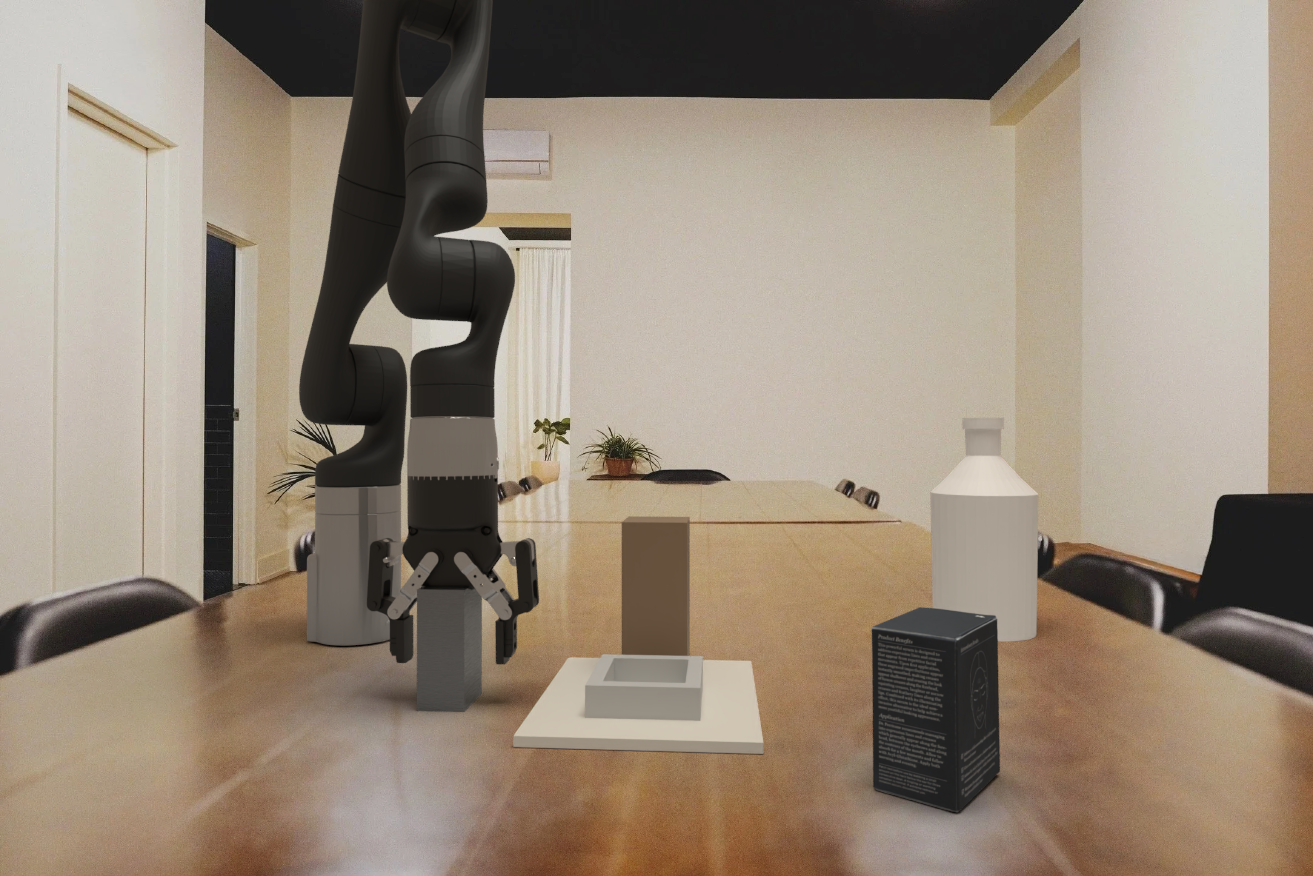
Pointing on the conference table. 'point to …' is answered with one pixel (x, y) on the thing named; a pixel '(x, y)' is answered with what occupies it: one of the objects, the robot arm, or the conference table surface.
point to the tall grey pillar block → (448, 648)
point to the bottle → (986, 536)
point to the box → (935, 706)
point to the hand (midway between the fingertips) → (454, 661)
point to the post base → (650, 668)
